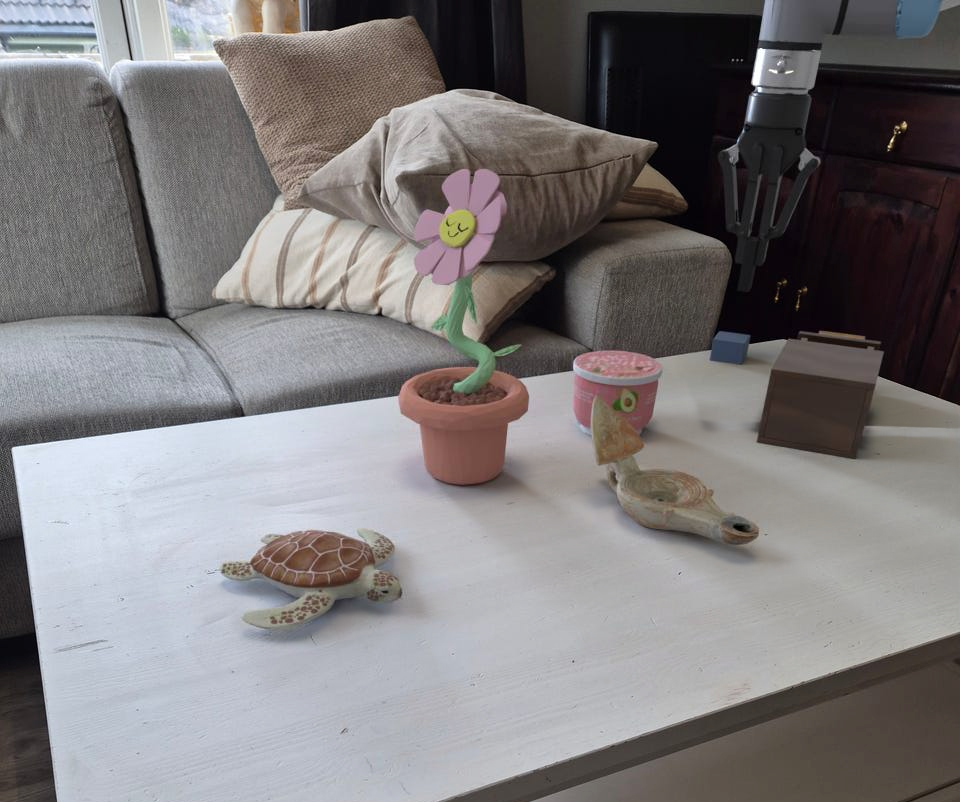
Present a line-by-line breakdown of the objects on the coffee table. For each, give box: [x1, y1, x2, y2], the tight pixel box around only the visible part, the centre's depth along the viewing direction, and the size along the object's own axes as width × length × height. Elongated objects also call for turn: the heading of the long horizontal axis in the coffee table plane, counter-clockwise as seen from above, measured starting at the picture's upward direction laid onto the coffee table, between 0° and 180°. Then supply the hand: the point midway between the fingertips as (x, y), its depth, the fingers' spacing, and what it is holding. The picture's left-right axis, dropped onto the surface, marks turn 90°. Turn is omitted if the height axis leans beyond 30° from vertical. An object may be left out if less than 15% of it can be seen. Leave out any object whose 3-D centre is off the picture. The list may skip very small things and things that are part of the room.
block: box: [709, 330, 751, 366], centre depth 132 cm, size 4×4×4 cm
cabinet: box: [756, 338, 885, 460], centre depth 111 cm, size 13×11×9 cm
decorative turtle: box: [219, 527, 403, 631], centre depth 79 cm, size 18×17×5 cm
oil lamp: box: [590, 395, 760, 546], centre depth 90 cm, size 9×21×10 cm, turn 40°
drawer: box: [796, 330, 882, 351], centre depth 120 cm, size 19×10×7 cm, turn 156°
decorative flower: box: [397, 168, 530, 486], centre depth 93 cm, size 15×14×30 cm
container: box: [572, 350, 663, 436], centre depth 111 cm, size 10×10×8 cm
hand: (744, 289), depth 127 cm, fingers closed
